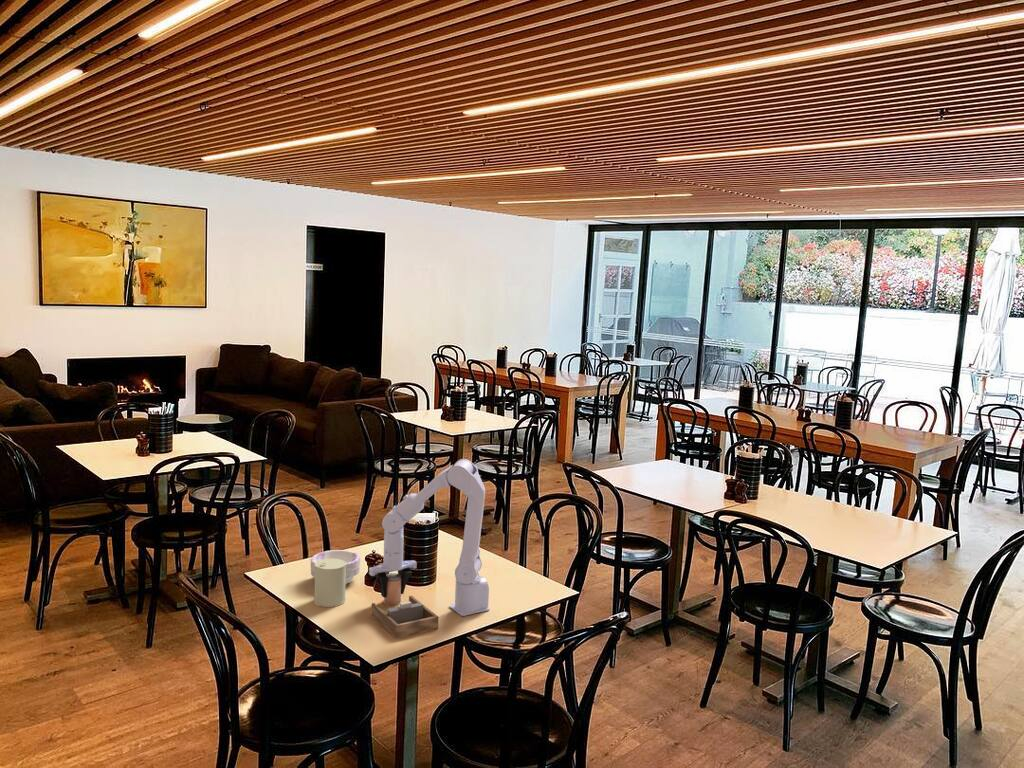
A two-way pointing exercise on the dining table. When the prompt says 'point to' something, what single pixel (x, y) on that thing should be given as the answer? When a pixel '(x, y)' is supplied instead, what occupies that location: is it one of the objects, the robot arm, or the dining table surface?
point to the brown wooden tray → (409, 627)
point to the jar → (393, 589)
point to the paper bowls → (348, 556)
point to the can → (330, 582)
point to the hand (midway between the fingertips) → (392, 594)
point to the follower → (406, 612)
